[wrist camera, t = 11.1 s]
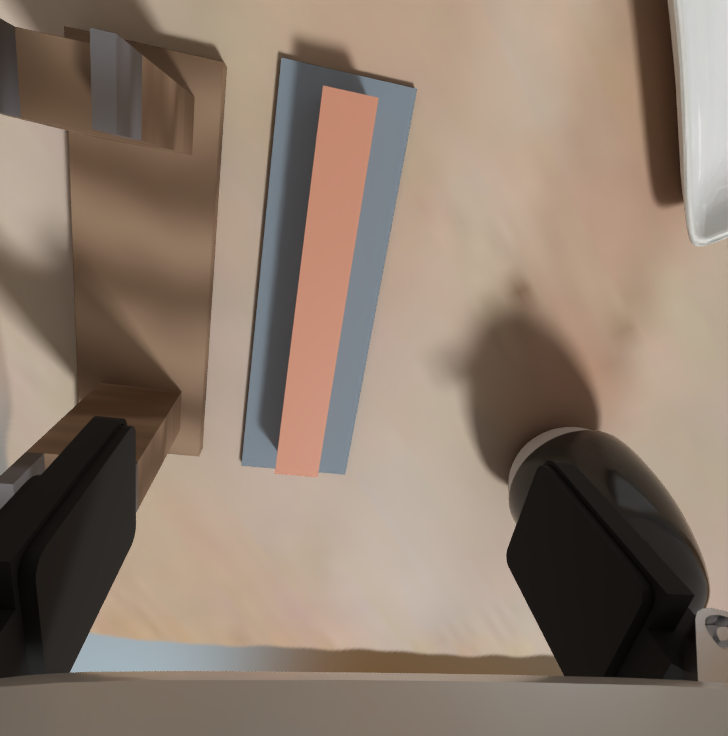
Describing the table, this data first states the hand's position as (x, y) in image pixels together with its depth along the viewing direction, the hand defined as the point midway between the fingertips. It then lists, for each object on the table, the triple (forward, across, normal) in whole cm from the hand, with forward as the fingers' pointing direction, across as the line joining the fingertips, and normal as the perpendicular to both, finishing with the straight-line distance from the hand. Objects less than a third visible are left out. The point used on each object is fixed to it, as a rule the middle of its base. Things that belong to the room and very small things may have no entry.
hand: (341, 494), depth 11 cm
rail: (+22, 0, +1) cm, 22 cm away
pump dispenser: (+23, -21, +12) cm, 33 cm away
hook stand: (+23, +11, +1) cm, 25 cm away
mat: (+23, 0, +1) cm, 23 cm away
